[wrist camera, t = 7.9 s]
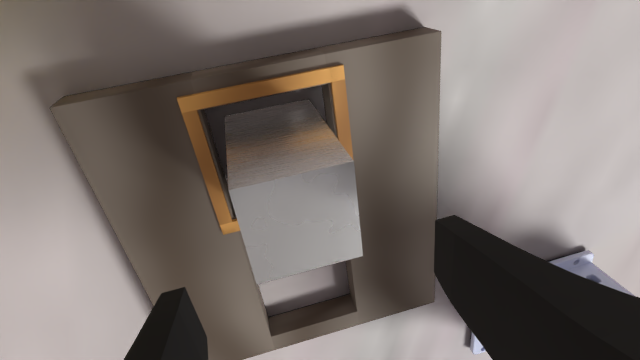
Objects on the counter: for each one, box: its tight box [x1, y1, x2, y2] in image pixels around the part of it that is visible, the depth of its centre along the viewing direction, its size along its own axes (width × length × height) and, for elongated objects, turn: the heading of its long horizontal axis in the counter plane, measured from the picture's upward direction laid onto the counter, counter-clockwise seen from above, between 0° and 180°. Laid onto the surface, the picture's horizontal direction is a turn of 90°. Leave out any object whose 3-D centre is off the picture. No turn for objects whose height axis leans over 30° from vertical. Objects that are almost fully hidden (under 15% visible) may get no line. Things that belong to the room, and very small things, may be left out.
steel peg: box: [225, 99, 363, 284], centre depth 16 cm, size 4×4×7 cm
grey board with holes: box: [50, 27, 441, 360], centre depth 20 cm, size 16×17×2 cm
